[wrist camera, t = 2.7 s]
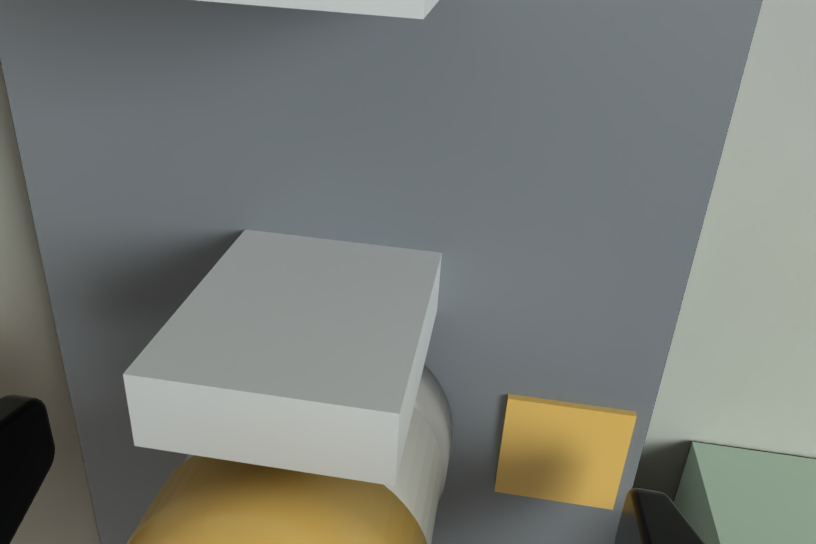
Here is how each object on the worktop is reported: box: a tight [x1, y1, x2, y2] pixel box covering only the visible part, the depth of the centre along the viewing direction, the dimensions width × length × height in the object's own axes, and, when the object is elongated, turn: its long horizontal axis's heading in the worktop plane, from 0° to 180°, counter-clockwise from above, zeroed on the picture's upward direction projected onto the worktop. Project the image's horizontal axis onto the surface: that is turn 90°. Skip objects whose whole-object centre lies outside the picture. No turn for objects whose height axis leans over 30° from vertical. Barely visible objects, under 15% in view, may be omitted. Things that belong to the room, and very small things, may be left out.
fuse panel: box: [0, 0, 763, 544], centre depth 9 cm, size 8×25×4 cm, turn 177°
